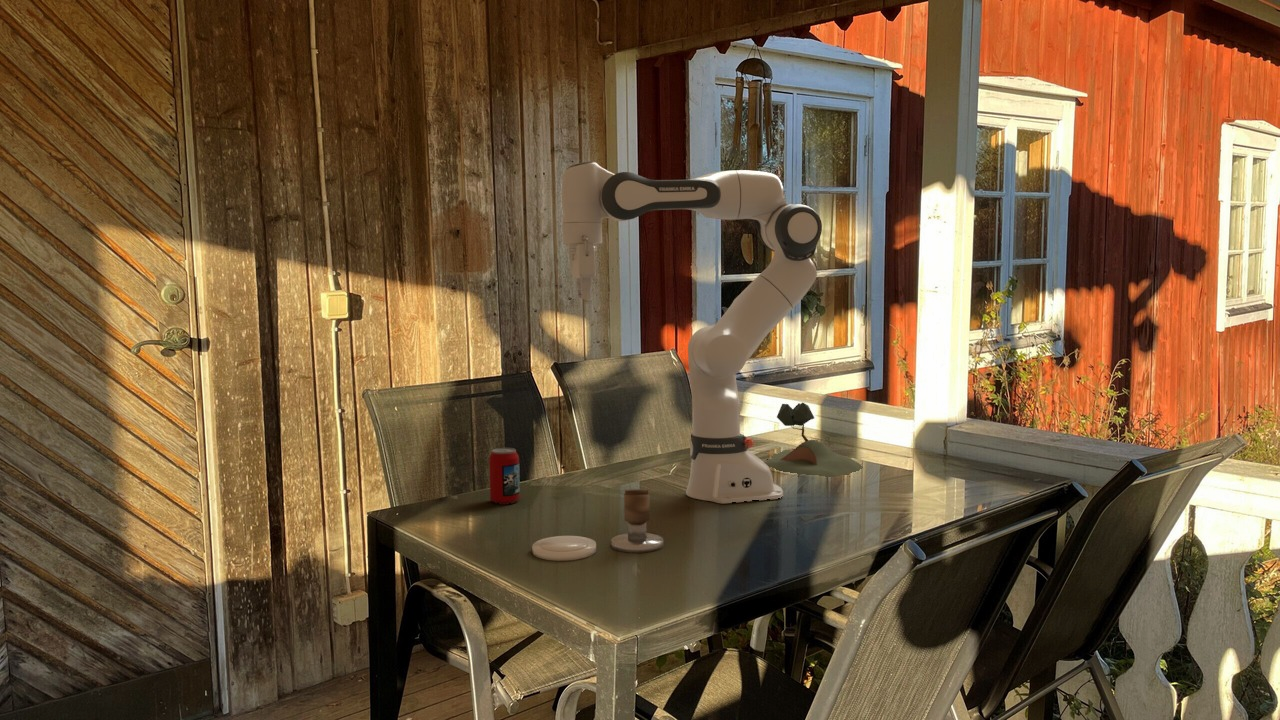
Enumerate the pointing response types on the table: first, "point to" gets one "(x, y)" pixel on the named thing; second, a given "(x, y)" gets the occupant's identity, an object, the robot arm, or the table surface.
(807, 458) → the plant
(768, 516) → the table surface
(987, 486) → the table surface
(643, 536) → the pedestal
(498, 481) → the beverage can
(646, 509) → the cap
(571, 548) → the saucer
